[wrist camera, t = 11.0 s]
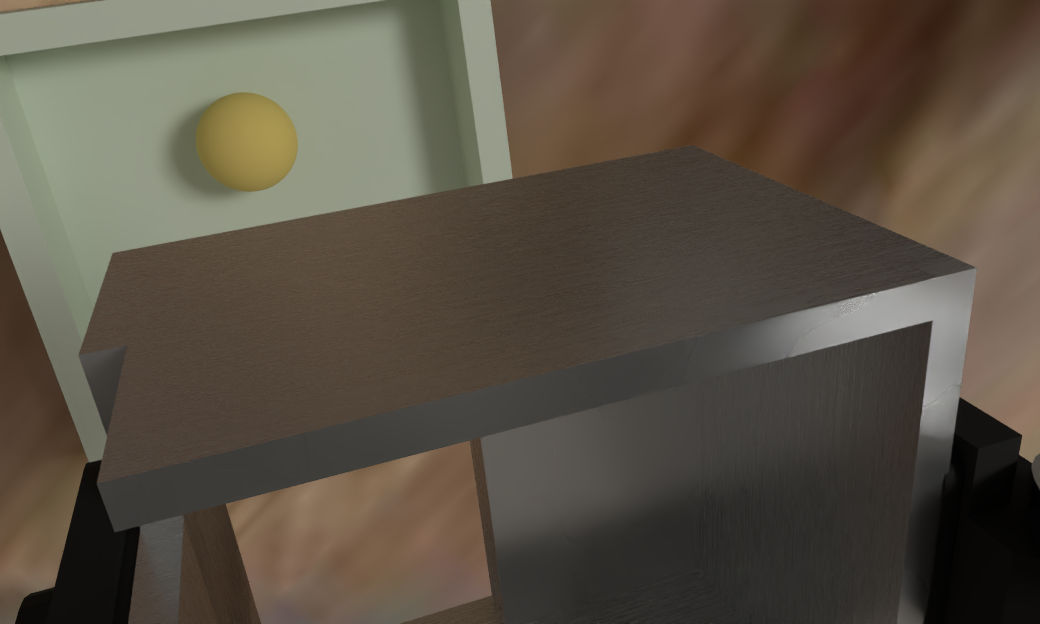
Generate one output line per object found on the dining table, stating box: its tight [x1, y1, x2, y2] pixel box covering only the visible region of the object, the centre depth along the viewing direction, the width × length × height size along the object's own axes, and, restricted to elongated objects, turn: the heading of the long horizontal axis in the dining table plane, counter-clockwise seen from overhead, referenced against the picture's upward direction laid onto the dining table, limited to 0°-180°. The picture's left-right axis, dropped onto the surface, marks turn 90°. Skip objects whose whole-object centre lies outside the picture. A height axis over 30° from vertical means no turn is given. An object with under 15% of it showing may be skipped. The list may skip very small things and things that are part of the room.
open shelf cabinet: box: [78, 145, 977, 624], centre depth 10 cm, size 7×7×5 cm
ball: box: [196, 92, 298, 192], centre depth 27 cm, size 3×3×3 cm
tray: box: [0, 0, 512, 462], centre depth 28 cm, size 14×15×4 cm
